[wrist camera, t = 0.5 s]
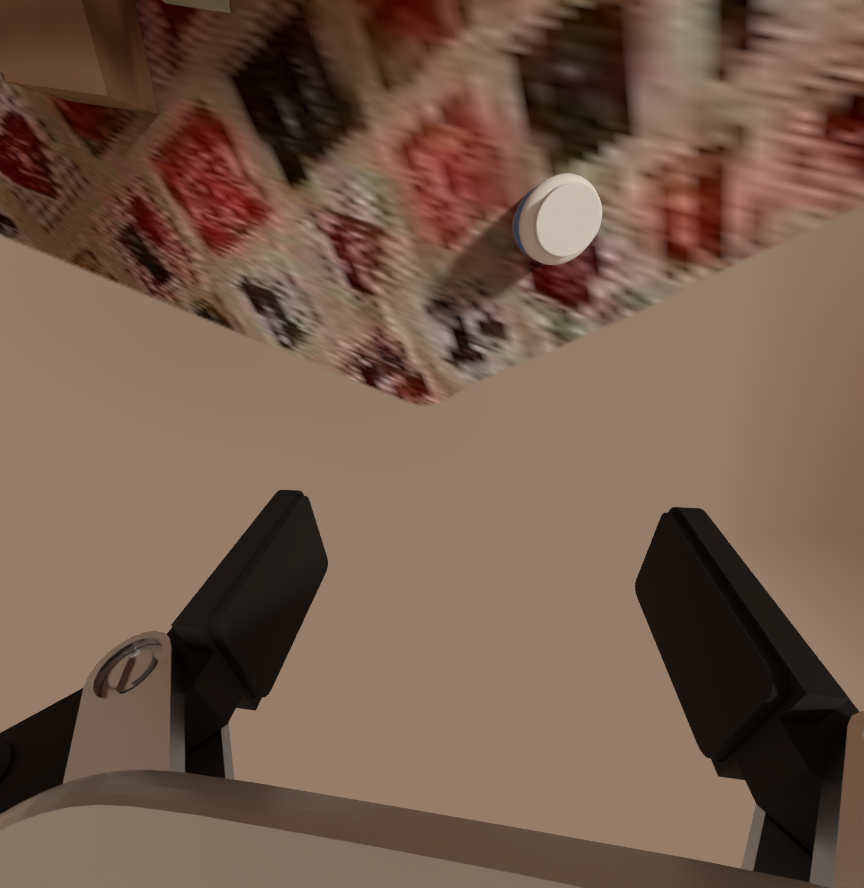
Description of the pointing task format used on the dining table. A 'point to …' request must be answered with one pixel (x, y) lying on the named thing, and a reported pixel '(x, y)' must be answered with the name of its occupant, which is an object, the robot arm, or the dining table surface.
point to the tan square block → (77, 51)
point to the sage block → (203, 4)
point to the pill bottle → (557, 219)
